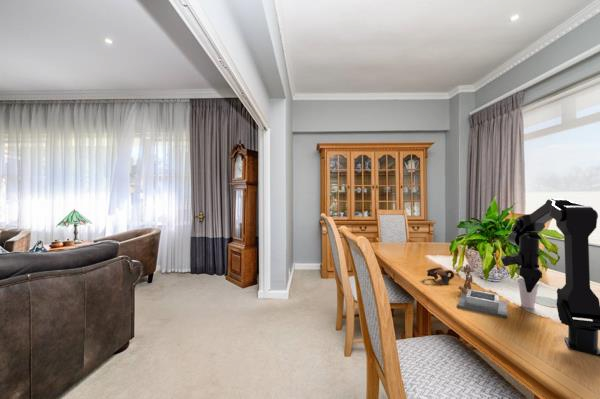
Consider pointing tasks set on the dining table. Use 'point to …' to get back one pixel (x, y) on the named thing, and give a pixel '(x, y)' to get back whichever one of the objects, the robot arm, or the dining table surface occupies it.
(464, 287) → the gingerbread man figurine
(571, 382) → the dining table surface
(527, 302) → the smoothie
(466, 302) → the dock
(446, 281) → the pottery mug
